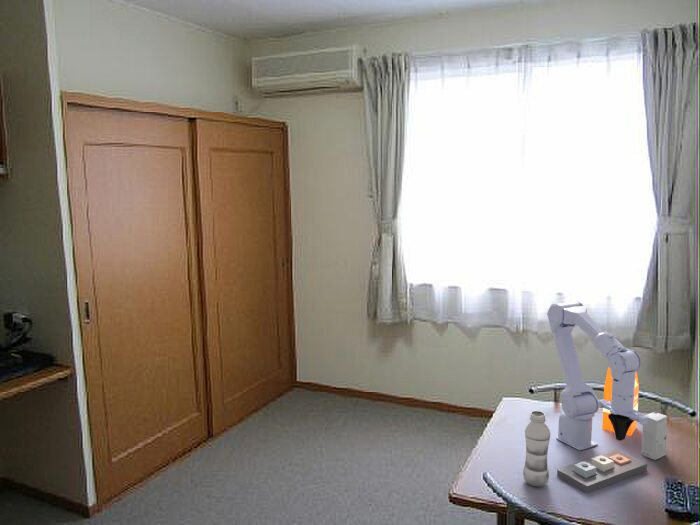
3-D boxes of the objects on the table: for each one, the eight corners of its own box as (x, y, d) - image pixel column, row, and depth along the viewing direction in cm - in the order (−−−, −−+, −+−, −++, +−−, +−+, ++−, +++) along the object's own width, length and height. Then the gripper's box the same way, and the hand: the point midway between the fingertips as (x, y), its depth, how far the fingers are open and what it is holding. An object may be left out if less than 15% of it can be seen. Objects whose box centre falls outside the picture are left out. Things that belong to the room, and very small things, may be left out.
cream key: (591, 465, 162) (591, 458, 162) (601, 461, 164) (601, 454, 163) (603, 471, 158) (603, 464, 158) (613, 467, 160) (613, 460, 160)
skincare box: (655, 460, 168) (657, 421, 166) (640, 454, 171) (642, 416, 170) (666, 454, 171) (669, 415, 169) (651, 449, 175) (653, 411, 173)
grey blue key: (573, 471, 159) (574, 464, 158) (583, 467, 160) (584, 460, 160) (585, 478, 155) (585, 470, 155) (595, 474, 157) (596, 466, 157)
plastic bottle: (528, 474, 161) (530, 406, 158) (552, 482, 157) (554, 412, 154) (518, 484, 156) (520, 414, 153) (543, 492, 152) (545, 420, 149)
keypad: (557, 476, 160) (557, 469, 160) (615, 455, 171) (616, 449, 171) (586, 493, 151) (586, 486, 151) (646, 470, 162) (647, 463, 162)
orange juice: (608, 420, 195) (611, 363, 192) (636, 427, 190) (640, 368, 187) (601, 428, 189) (604, 370, 186) (631, 436, 184) (634, 375, 181)
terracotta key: (608, 463, 165) (608, 456, 165) (617, 460, 167) (618, 453, 167) (620, 469, 162) (620, 462, 161) (630, 466, 164) (630, 459, 163)
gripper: (591, 387, 166) (589, 432, 168) (636, 405, 153) (633, 453, 155) (608, 383, 169) (605, 427, 171) (653, 399, 156) (651, 447, 158)
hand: (620, 439), depth 163 cm, fingers closed
